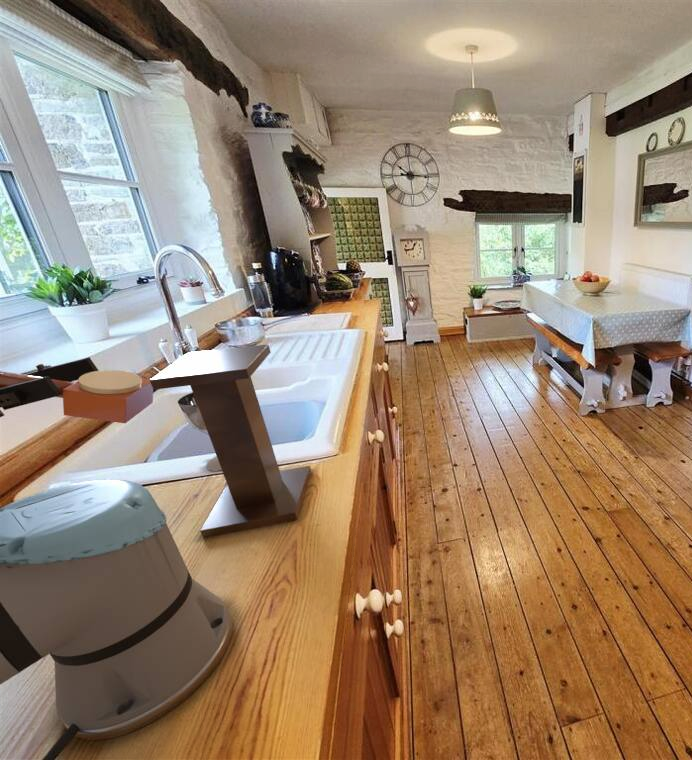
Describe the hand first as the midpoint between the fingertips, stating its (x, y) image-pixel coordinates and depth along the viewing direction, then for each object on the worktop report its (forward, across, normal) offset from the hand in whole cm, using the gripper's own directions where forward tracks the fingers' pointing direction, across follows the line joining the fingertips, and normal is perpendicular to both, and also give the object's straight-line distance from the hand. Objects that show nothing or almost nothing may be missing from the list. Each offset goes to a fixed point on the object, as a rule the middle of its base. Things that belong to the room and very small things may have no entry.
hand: (74, 375), depth 58 cm
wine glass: (0, -18, -28) cm, 33 cm away
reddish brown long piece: (-3, 0, -3) cm, 5 cm away
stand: (+12, -2, -30) cm, 32 cm away
